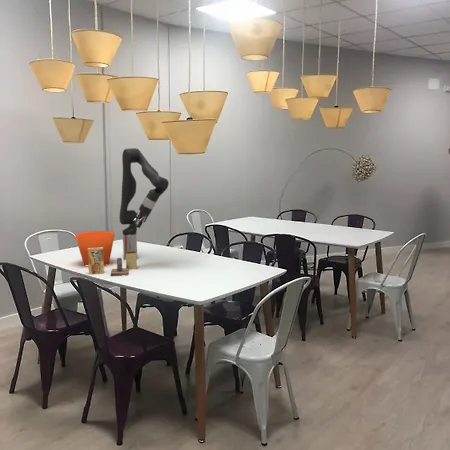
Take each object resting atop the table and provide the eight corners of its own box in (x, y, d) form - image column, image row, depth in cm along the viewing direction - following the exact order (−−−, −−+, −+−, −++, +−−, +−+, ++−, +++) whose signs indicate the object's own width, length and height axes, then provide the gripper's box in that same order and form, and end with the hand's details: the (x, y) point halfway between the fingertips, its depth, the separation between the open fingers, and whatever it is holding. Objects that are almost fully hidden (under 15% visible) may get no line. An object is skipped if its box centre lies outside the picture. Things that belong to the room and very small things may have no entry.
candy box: (104, 271, 297) (102, 247, 294) (104, 273, 293) (103, 248, 290) (88, 272, 294) (87, 247, 292) (88, 274, 290) (87, 249, 288)
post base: (111, 271, 297) (111, 256, 296) (128, 270, 299) (128, 255, 298) (110, 276, 286) (110, 260, 284) (128, 275, 287) (127, 259, 286)
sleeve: (126, 267, 308) (126, 251, 306) (136, 266, 309) (136, 251, 308) (126, 269, 302) (125, 253, 300) (136, 269, 303) (136, 253, 301)
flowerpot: (90, 258, 334) (88, 230, 331) (122, 260, 327) (121, 231, 324) (68, 266, 310) (67, 236, 307) (103, 269, 303) (102, 237, 300)
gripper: (147, 202, 310) (135, 224, 312) (137, 202, 296) (125, 224, 298) (157, 209, 308) (144, 230, 311) (147, 208, 294) (134, 231, 297)
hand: (134, 227), depth 304 cm, fingers open, 8 cm apart
